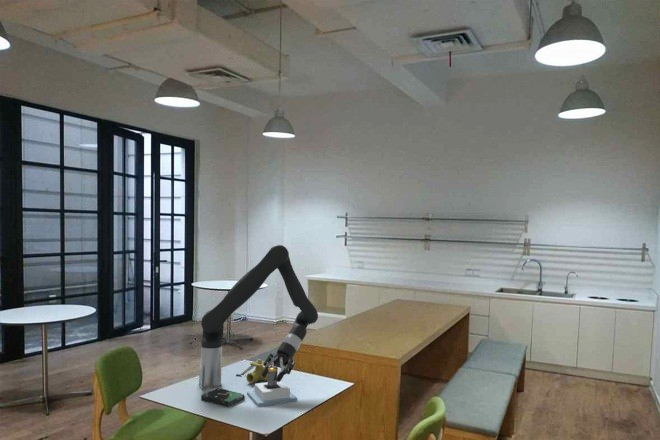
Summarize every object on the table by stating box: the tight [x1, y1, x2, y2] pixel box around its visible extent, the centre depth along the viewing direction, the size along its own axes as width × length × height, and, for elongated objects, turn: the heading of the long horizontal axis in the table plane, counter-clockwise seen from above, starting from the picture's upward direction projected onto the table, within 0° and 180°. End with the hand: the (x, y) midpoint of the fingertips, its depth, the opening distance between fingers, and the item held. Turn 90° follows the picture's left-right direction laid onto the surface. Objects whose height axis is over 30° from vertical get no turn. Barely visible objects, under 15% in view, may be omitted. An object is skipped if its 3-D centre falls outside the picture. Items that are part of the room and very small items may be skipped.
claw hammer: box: [235, 365, 255, 378], centre depth 231 cm, size 21×7×1 cm, turn 167°
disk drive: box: [200, 388, 246, 408], centre depth 190 cm, size 10×3×15 cm
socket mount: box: [246, 380, 298, 407], centre depth 194 cm, size 17×15×5 cm
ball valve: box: [245, 358, 268, 384], centre depth 215 cm, size 13×10×10 cm
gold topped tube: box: [267, 366, 279, 389], centre depth 194 cm, size 4×4×11 cm
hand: (270, 378), depth 193 cm, fingers open, 8 cm apart
